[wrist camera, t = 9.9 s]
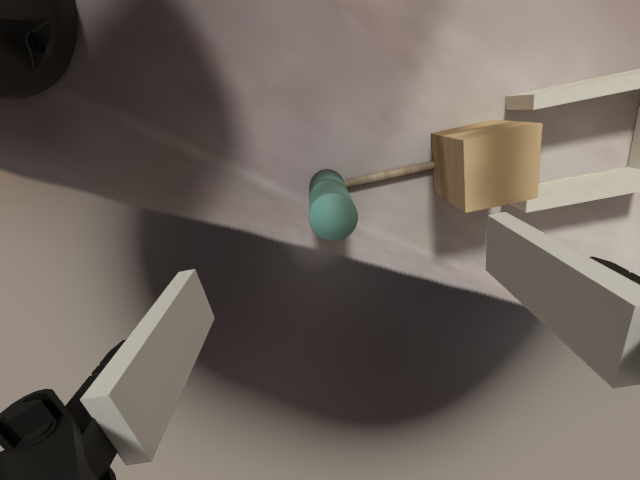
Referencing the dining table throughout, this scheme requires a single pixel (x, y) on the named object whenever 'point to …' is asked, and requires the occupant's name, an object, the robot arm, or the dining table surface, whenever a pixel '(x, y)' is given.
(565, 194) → the rail lane
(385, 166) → the dining table surface
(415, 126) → the dining table surface
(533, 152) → the corded oak block
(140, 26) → the dining table surface
